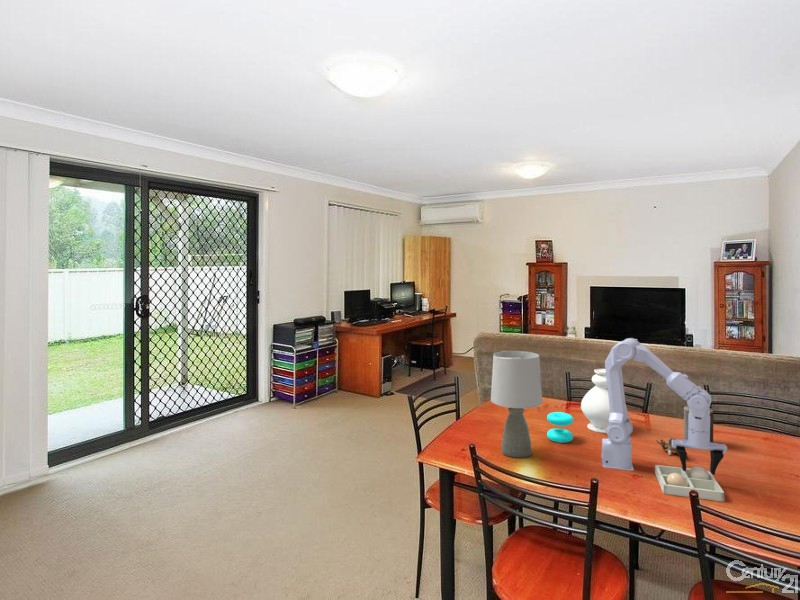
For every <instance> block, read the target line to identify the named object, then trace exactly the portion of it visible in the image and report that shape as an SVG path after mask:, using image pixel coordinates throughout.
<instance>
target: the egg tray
mask: <svg viewBox="0 0 800 600" xmlns="http://www.w3.org/2000/svg"><path fill="white" fill-rule="evenodd" d="M690 470H691V468H687V467H686V471H683V469H682V467H679V466H668V465H661V464H655V465H654V473H655V475H656V479H657V481H658V483H659V486H660V488H661V491H662V494H663V495H670V496H676V497H677V496H678V497H685V498H690V497H689V492H690V491H691V490H695V491H697V492H698V493H699V498H700V499H701V500H709V501H715V502H723V503H724V502H725V492H724V490H723V489H722V487H721V485H720V484H719V482H718V481H717V480H716V478H715V476H714V475H712V474H711V472H710V470H706V471H707V473H708V480H705V479H697V478H691V477H690V475H689V472H690ZM671 473H678V474H680V475H682V476H683V477H684V478H685V481H686V486H685V487H683V486H675V485H668V483H667V477H668V475H669V474H671ZM699 498H698V499H699Z"/></svg>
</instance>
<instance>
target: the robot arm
mask: <svg viewBox="0 0 800 600" xmlns="http://www.w3.org/2000/svg"><path fill="white" fill-rule="evenodd" d="M632 358H633V362H639V363H643V364H645V365H647V366H648V367H649V368H651V369H652V370H653V371H655V372H656V373H657V374H659V376H661V377H662V378H664V379H665V381H666V386H667V387H669V389H670V390H672V391H673V392H674V393H676V394H677V395H678V396H679V397H680V398H682V400H684V401H686V404H687V406H689V416H688V440H684V439H676V440H672V447H674V448H676V450H677V452H678V453H677V452H676V453H677V454H678V457H679V459H680V465H681V468H682V469H683V471H686V468H687V459H686V456H688V453H687V451H686V449H691V450H692V449H694V450H704V451H709V454H710V455H709V456H710V467H709V468H710V469H709V471H710V472H711V474H712V475H713V476H714V475H716V472H717V469H718V466H719V464H720V462H721V461H722V460H723V459H724V458H725V457H724V456H725V455H724V453H725V454H727V453H728V446H727V445H726V444H725V443H724V444H723V443H722V444H721V443H717V442H713V443H712V442H710V409H711V408H710V407H711V403H712V396H711V394H710V393H708V391H707V389H706V390H705V389H702V387H701V386H700V385H698V386H697V385H696V384H695V383H694V382H693V381H691V379H689V376H688V375H687V374H686V373H682V372H679V371H673V370H672V369H671V368H670V367H669V366H668V365H666V364H665V363H664V362H663V361H662V360H661V359H659V357H658V356H656V354H655V353H653V352H652V351H651V350H650V349H649V348H648V347H647V346H646V345H644V344H643V343H640V342H639V340H637V339H636V338H634V337H629V338H628V337H627V338H625V339H624V340H621V341H619V342H617V343H616V344H615V345H614V346H612V347H611V349H610V351H609V354H608V355H607V357H606V359H605V361H604V369H605V370H606V379H607V388H608V397H609V406H610V417H609V427H608V429H607V433H606V434H607V437H608V438H607V437H606V438H602V439H601V455H600V459H601V462H602V463H601V464H602V467H603V468H607V469H614V470H615V469H616V470H624V471H632V472H633V471H634V470H635V469H634V465H633V463H632V462H633V461H632V450H633V449H632V441H633V439H632V438H631V436H630V435H631V434H632V433H633V430H634V426H633V424H632V422H631V420H630V416H629V414H628V411H627V412H626V407H627V405H626V396H625V387H624V379H623V378H624V377H623V371H622V369H623V368H622V367H623V365H625V363H627V361H630V360H631V359H632Z"/></svg>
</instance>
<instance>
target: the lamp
mask: <svg viewBox="0 0 800 600" xmlns="http://www.w3.org/2000/svg"><path fill="white" fill-rule="evenodd" d="M492 358H493V359H492V374H491V389H490V391H491V392H490V402H492V404H494V405H496V406H499V407H503V408H507V411H508V412H509V414H508V415H507V418H506V420H505V423H504V427H503V433H502V439H501V446H500V447H501V448H500V449H501V453H502V454H503V455H505V456H507V457H509V458H516V459H523V458H527V457H531V455H532V453H533V452H532V451H533V450H532V441H531V437H530V436H531V435H530V430H529V426H528V422H527V420H526V417H525V415H524V412H525V411H526V410H525V409H531V408H537V407H539V406H541V405H542V404H543V394H542V393H543V392H542V377H541V362H540V355H539V354H537V353H536V352H531V351H522V350H521V351H520V350H506V351H503V350H502V351H499V352H494V353H493V356H492Z"/></svg>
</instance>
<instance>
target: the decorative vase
mask: <svg viewBox="0 0 800 600" xmlns="http://www.w3.org/2000/svg"><path fill="white" fill-rule="evenodd" d="M593 371H594V372H593V373H595V374H594V375H592V377H591V382H592V383H593V384H594V385H595V386H593V387H592V388H591V389H590V390H588V391H587V392H586V394H585V395H584V396H583V397H582V400H581V402H580V409H581V411H582V413H583V415H584V416H585V418H587V420H588V421H589V422H590V423H588V424H587V428H588V429H589V430H591V431H592V432H596V433H600V434H607V429H608V427H609V417H610V406H609V397H608V388H607V379H606V370H605V368H596V369H595V368H594V370H593ZM627 408H628V407H627V406H626V412H627V413H628V411H627V410H628V409H627Z"/></svg>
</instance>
